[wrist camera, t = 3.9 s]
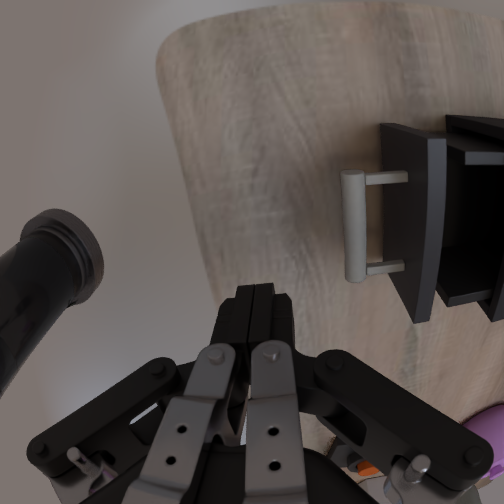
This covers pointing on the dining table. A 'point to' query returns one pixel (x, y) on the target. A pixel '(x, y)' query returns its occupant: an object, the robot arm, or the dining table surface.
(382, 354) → the dining table surface
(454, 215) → the dark grey drawer
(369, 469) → the button
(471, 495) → the planter
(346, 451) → the panel
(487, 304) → the black drawer box
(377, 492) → the jar
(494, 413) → the teapot
